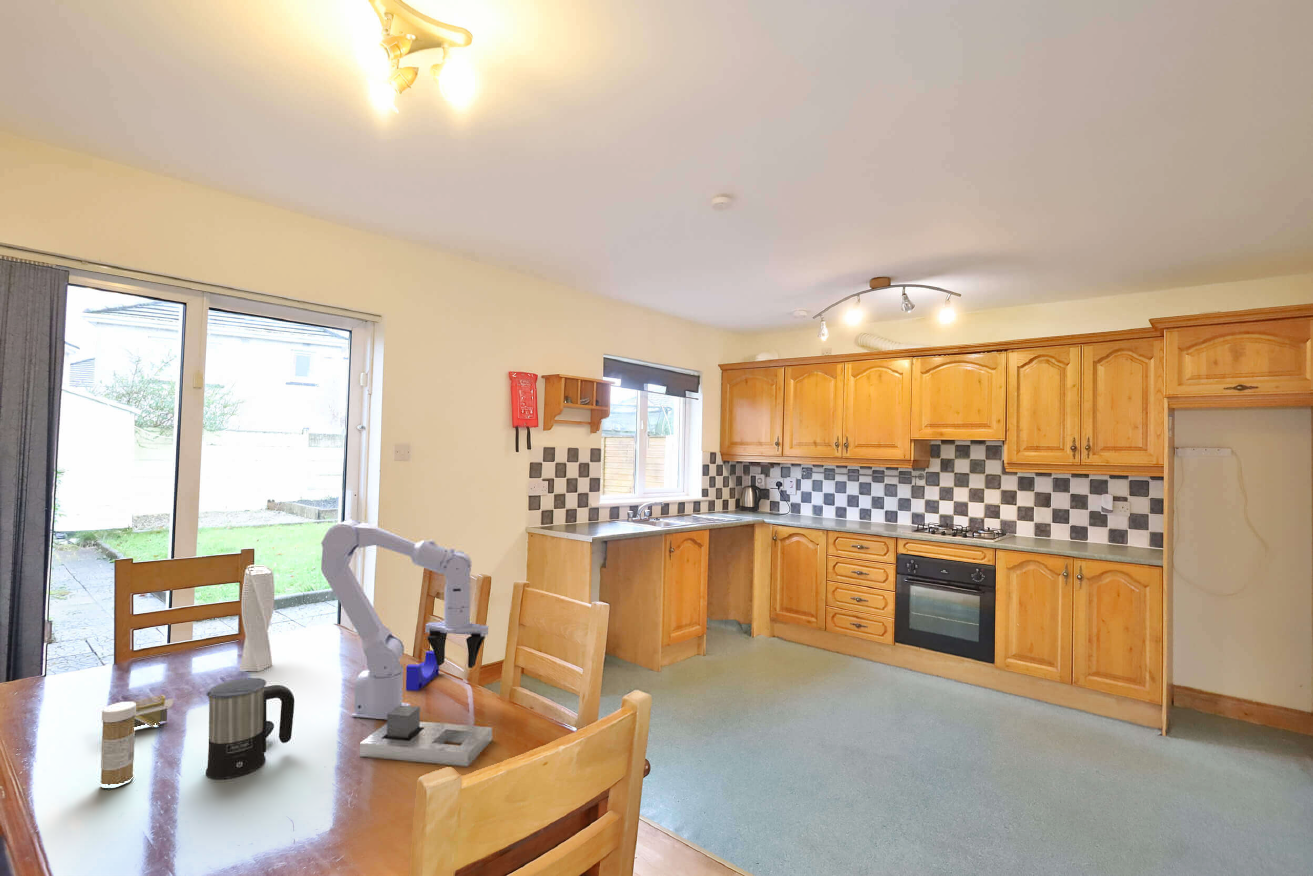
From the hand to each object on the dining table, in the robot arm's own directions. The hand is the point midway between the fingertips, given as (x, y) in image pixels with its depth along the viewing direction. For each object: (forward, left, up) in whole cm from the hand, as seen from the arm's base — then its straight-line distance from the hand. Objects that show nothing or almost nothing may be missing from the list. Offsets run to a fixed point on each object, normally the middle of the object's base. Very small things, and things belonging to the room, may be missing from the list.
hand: (456, 665), depth 144 cm
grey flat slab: (+4, -20, -9) cm, 22 cm away
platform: (-57, -23, -10) cm, 62 cm away
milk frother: (-29, -29, -10) cm, 42 cm away
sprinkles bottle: (-42, -42, -10) cm, 60 cm away
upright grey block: (-1, -20, -10) cm, 22 cm away
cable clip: (-16, +13, -10) cm, 23 cm away
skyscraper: (-63, +13, -10) cm, 65 cm away
